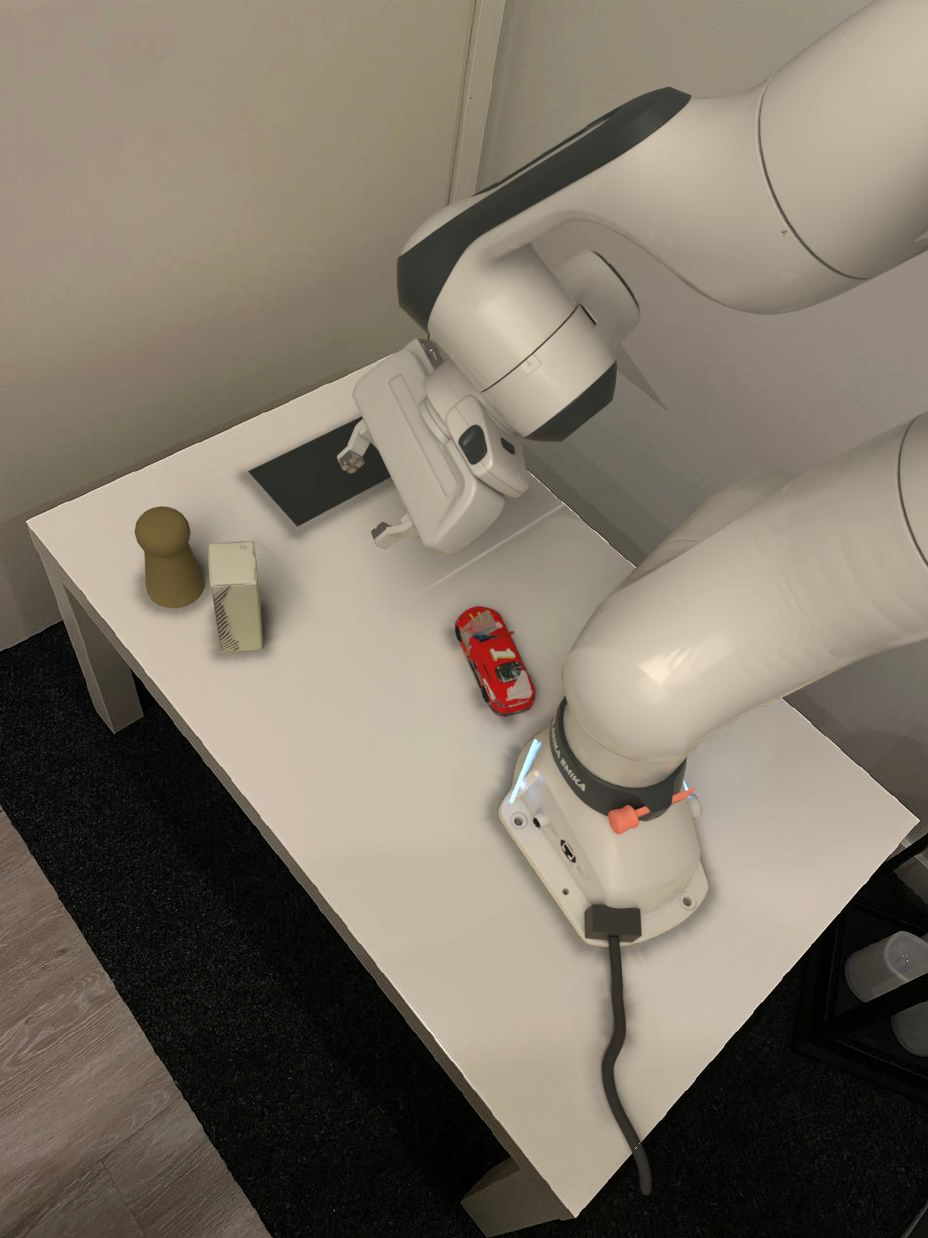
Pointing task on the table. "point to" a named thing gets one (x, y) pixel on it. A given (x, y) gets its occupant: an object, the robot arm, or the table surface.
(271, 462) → the slate board
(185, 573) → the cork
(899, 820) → the table surface
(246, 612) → the box
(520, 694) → the race car
